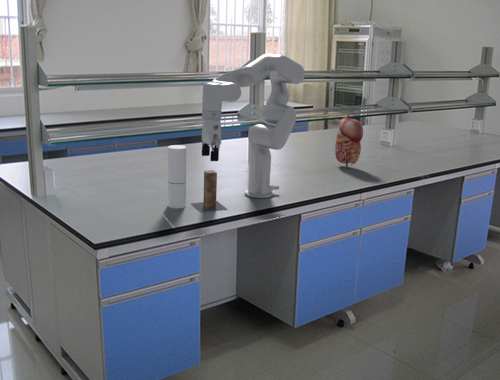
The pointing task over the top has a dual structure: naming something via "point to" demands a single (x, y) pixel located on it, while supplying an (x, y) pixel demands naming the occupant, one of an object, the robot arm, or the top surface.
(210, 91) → the robot arm
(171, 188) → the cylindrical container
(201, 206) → the mat
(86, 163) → the top surface
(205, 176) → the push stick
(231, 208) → the top surface
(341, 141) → the anatomical model
